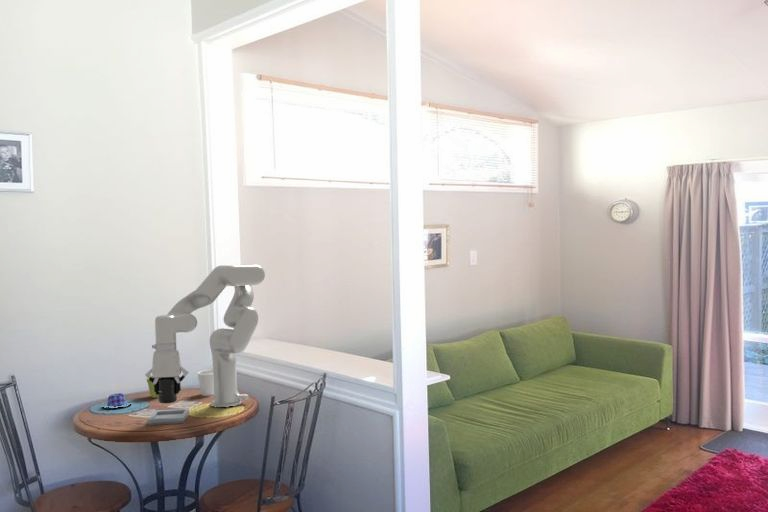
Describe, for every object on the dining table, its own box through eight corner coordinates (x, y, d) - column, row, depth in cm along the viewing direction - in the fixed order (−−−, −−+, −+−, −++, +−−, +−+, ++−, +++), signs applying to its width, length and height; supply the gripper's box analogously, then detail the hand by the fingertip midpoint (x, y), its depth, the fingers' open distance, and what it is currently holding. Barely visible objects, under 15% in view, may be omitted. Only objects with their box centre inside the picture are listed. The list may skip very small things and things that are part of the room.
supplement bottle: (154, 403, 255) (153, 372, 254) (164, 399, 261) (163, 368, 261) (171, 403, 253) (170, 372, 253) (180, 399, 260) (179, 368, 260)
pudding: (128, 402, 289) (128, 389, 289) (135, 407, 279) (134, 395, 279) (98, 406, 282) (98, 394, 282) (104, 412, 272) (104, 399, 272)
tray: (189, 413, 265) (189, 408, 265) (183, 422, 252) (183, 417, 252) (155, 415, 263) (155, 410, 263) (147, 425, 250) (147, 419, 250)
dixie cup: (218, 391, 302) (218, 369, 302) (215, 396, 294) (214, 373, 293) (200, 392, 301) (199, 370, 301) (196, 397, 293) (195, 374, 293)
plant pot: (164, 398, 291) (163, 379, 291) (143, 399, 292) (142, 379, 291) (171, 393, 301) (171, 374, 301) (151, 394, 301) (150, 375, 301)
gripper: (140, 349, 252) (142, 397, 252) (187, 347, 254) (189, 394, 254) (145, 346, 259) (146, 392, 260) (191, 344, 261) (192, 390, 262)
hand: (167, 393), depth 257 cm, fingers closed on supplement bottle, 6 cm apart
